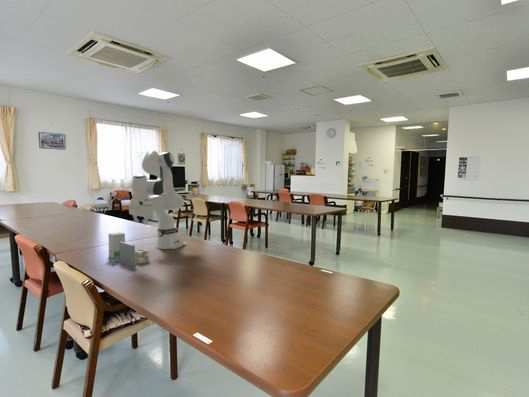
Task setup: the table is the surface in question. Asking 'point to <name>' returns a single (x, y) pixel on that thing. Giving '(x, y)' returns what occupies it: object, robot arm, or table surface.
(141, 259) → the letter cube
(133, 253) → the screen
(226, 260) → the table surface
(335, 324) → the table surface
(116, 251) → the skincare box
